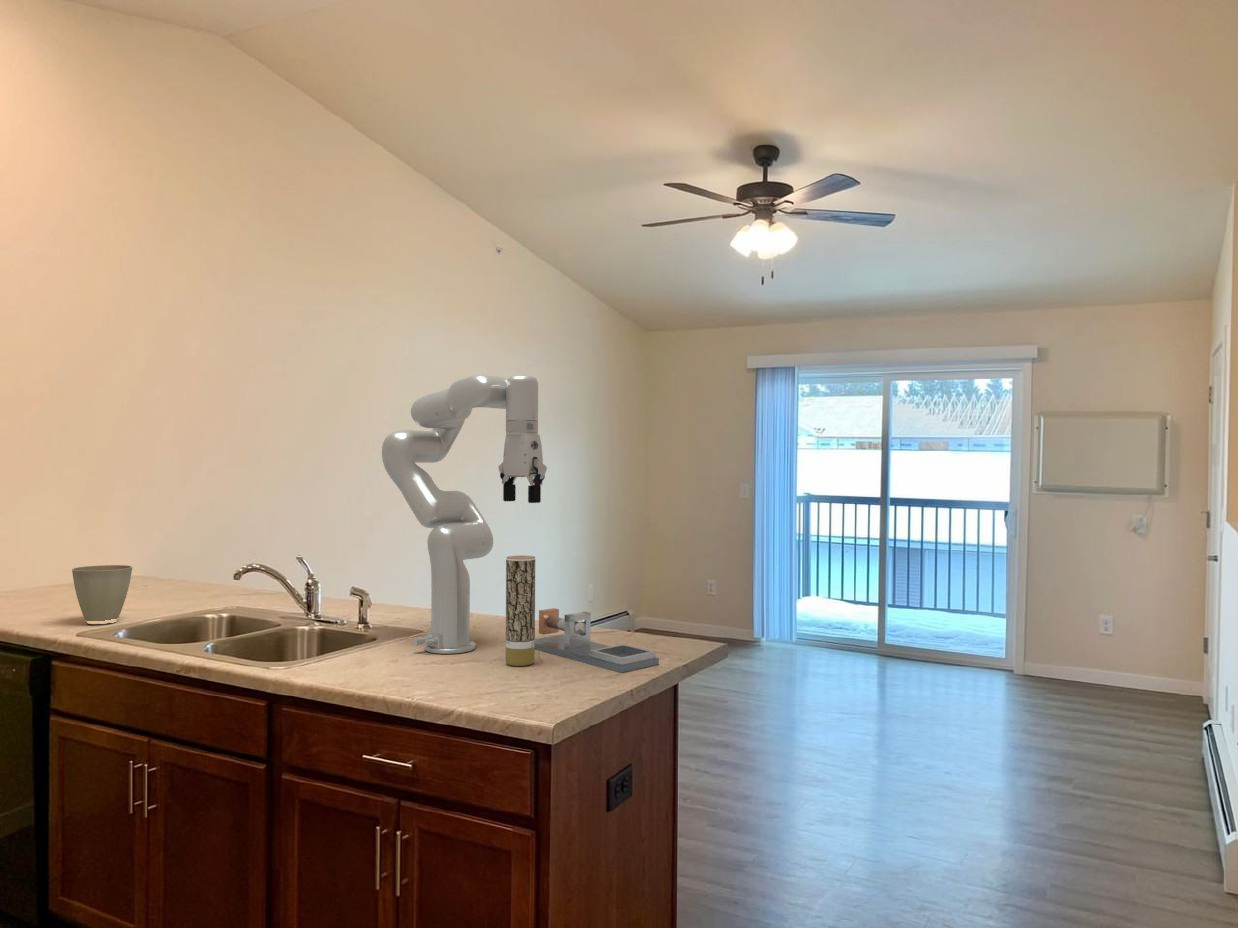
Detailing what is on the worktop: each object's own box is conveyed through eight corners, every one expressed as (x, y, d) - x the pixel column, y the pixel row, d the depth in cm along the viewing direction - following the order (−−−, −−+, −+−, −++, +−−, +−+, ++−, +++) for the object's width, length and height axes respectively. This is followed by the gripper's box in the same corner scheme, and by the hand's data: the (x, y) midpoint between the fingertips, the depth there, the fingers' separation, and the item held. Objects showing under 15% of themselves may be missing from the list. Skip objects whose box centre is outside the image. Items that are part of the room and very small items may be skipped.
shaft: (573, 642, 210) (573, 617, 210) (538, 633, 220) (538, 610, 220) (589, 639, 214) (589, 615, 214) (553, 630, 224) (554, 608, 224)
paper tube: (511, 668, 196) (512, 559, 196) (501, 661, 202) (502, 556, 202) (538, 665, 199) (539, 557, 199) (528, 659, 205) (529, 555, 205)
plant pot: (124, 626, 240) (124, 570, 240) (63, 629, 236) (64, 571, 236) (138, 617, 254) (138, 563, 254) (81, 619, 250) (81, 565, 250)
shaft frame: (621, 672, 192) (621, 630, 192) (525, 646, 219) (525, 609, 219) (658, 664, 201) (659, 623, 201) (561, 639, 227) (562, 604, 227)
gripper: (557, 428, 196) (557, 502, 196) (513, 430, 209) (512, 500, 209) (531, 427, 191) (531, 503, 191) (487, 429, 204) (487, 501, 204)
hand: (521, 501), depth 200 cm, fingers open, 9 cm apart
